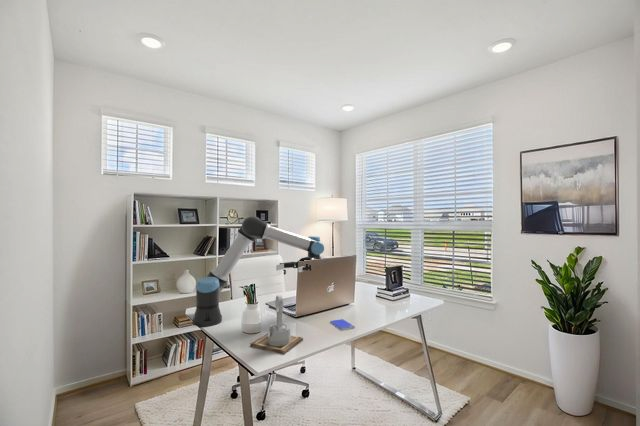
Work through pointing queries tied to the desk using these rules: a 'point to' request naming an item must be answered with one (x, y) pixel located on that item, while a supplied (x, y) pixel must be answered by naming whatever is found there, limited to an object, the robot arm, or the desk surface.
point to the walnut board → (264, 344)
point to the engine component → (279, 327)
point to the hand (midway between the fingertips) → (287, 268)
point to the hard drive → (342, 324)
